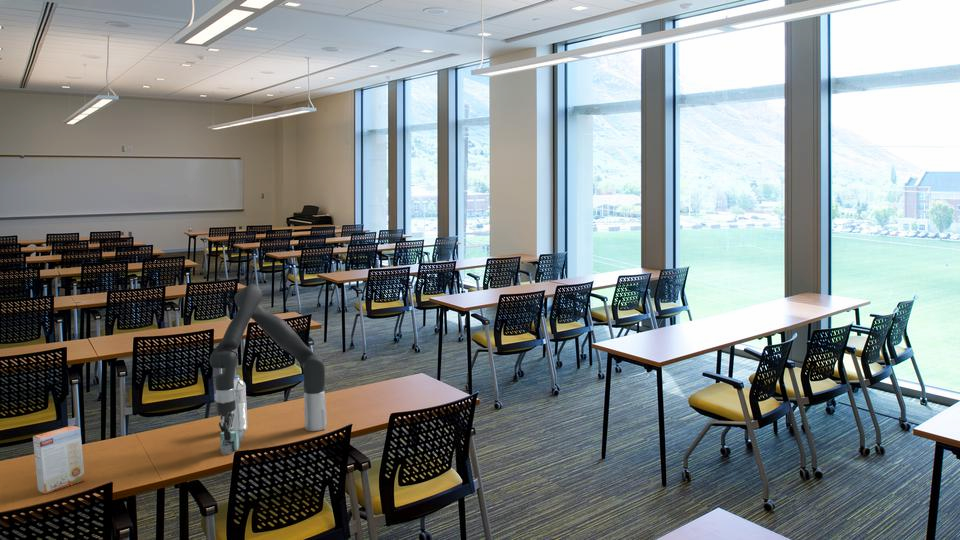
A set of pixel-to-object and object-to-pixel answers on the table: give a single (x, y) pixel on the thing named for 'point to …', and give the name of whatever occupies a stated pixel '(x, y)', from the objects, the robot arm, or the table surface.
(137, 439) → the table surface
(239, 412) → the water bottle
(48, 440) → the cracker box
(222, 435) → the lock collar
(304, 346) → the robot arm
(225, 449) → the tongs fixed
